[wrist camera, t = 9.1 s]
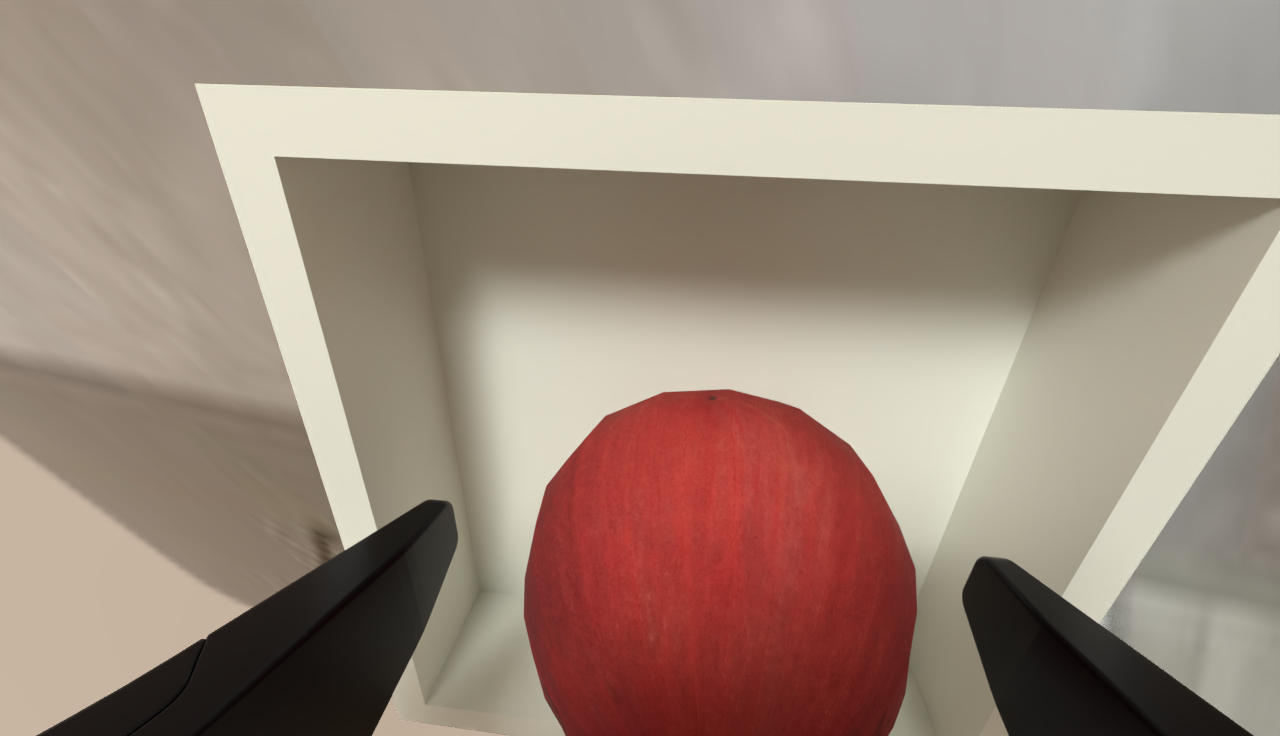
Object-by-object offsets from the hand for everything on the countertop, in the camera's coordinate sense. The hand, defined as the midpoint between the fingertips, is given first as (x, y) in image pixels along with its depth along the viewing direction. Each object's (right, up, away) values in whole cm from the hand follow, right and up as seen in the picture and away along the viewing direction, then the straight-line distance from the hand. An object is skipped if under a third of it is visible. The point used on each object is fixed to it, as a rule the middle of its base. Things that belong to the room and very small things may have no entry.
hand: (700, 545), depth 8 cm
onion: (0, +1, +3) cm, 3 cm away
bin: (0, +2, +4) cm, 4 cm away
